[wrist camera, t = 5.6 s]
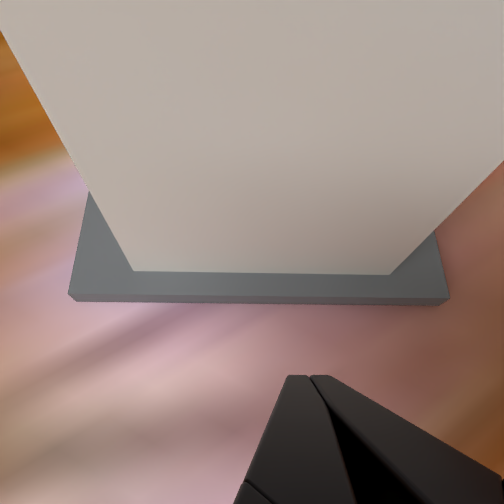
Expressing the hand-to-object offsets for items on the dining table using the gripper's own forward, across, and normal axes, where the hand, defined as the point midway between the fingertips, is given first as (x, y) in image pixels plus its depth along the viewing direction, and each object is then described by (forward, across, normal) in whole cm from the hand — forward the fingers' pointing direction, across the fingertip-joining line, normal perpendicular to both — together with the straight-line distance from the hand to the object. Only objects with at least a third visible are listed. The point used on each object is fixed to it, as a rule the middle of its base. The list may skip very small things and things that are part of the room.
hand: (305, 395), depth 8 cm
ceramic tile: (+10, 0, 0) cm, 10 cm away
